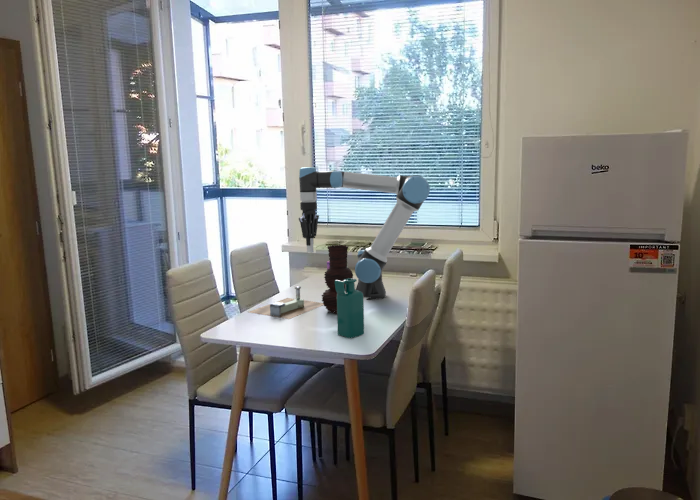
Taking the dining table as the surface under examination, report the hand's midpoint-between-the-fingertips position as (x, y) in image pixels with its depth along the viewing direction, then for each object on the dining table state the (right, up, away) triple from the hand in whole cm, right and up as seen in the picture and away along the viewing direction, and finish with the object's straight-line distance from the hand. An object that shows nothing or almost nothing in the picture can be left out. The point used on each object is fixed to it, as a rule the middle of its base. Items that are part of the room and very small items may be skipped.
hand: (310, 252), depth 259 cm
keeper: (-12, -27, -20) cm, 36 cm away
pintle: (-5, -21, -9) cm, 23 cm away
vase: (+14, -27, -16) cm, 34 cm away
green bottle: (+18, -32, -44) cm, 58 cm away
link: (-8, -25, -13) cm, 30 cm away
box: (+12, -17, +46) cm, 50 cm away
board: (-9, -26, -9) cm, 29 cm away
